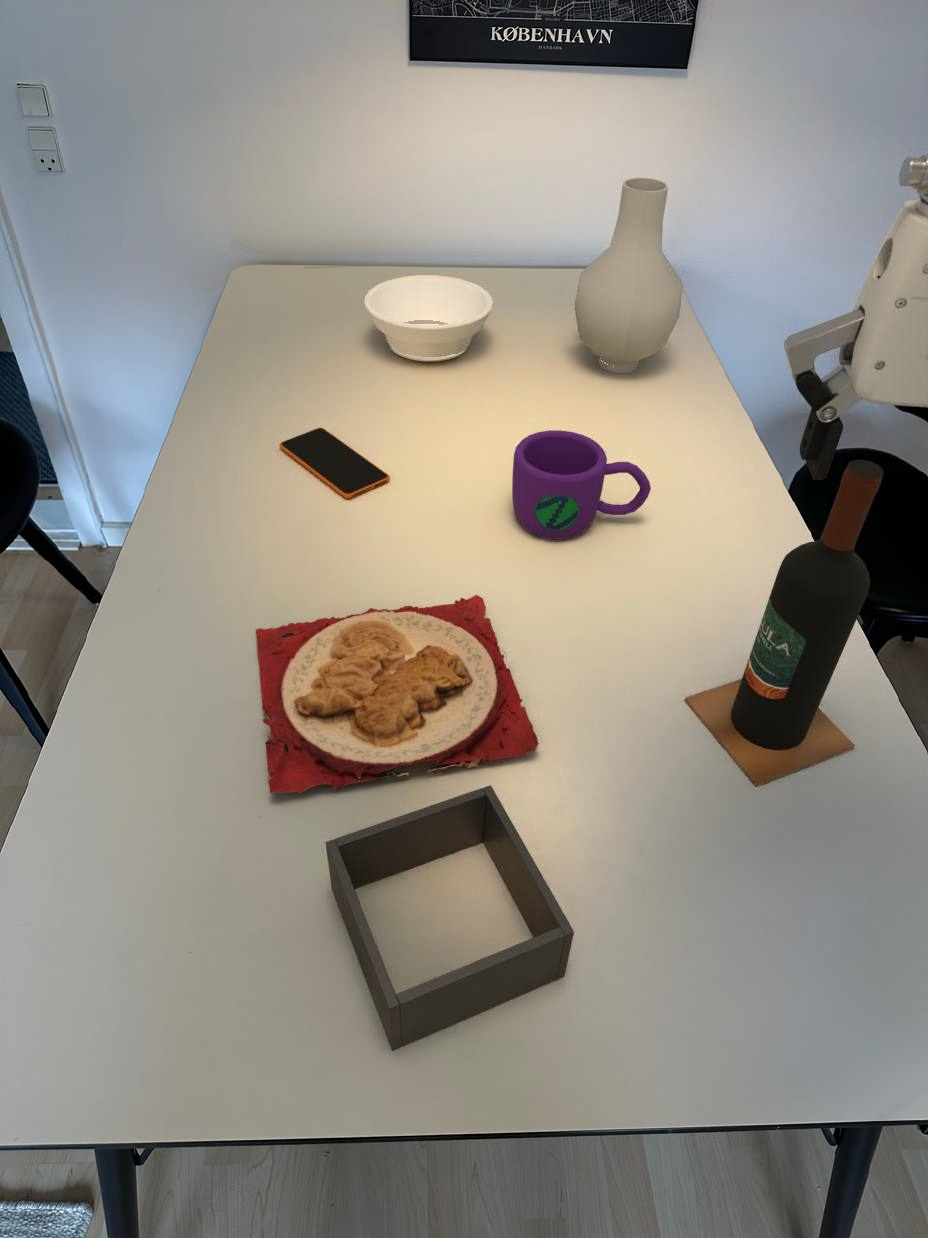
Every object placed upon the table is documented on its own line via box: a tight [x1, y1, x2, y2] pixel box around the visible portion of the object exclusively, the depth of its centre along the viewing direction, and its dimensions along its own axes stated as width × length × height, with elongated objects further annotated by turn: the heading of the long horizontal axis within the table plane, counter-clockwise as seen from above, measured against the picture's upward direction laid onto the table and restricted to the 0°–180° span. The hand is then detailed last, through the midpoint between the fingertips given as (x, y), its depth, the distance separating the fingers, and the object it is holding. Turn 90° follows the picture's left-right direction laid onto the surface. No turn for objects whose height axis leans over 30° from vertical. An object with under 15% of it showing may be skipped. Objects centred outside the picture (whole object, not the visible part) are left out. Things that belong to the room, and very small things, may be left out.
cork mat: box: [684, 678, 856, 787], centre depth 91 cm, size 12×12×1 cm
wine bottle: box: [731, 459, 885, 750], centre depth 81 cm, size 8×8×30 cm
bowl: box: [363, 274, 494, 362], centre depth 150 cm, size 21×21×8 cm
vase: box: [574, 177, 684, 374], centre depth 140 cm, size 17×16×28 cm
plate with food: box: [255, 594, 541, 794], centre depth 92 cm, size 24×26×3 cm
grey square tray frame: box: [325, 784, 575, 1051], centre depth 72 cm, size 15×15×7 cm
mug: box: [511, 429, 652, 540], centre depth 113 cm, size 17×11×10 cm, turn 86°
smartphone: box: [278, 427, 391, 499], centre depth 125 cm, size 8×17×1 cm, turn 41°
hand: (890, 472), depth 57 cm, fingers open, 9 cm apart
